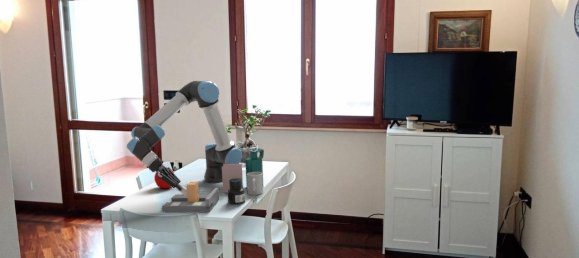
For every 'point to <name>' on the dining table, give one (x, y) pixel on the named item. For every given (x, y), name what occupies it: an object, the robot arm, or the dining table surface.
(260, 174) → the mug
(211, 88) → the robot arm
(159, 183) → the tomato
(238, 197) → the ink bottle
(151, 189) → the dining table surface
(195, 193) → the lever
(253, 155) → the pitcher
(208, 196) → the breaker housing
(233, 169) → the greeting card
